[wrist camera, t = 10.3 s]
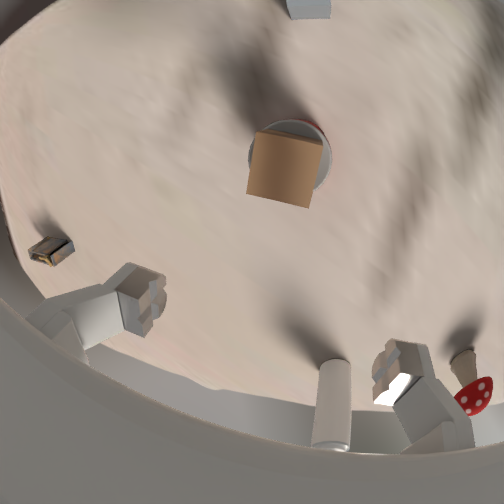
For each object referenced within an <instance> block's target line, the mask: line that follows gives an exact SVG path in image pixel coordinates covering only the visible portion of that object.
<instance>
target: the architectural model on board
mask: <svg viewBox="0 0 504 504" xmlns="http://www.w3.org/2000/svg"><path fill="white" fill-rule="evenodd" d="M66 242H67V240H62V239H56V238H52V237H46V238H44V239H43V240H41V241H40V242H38V243H37V244H36V245H34V246H33V247H31V248H30V249H28V253H29V256H30V259H31V260H34V261H37V262H41V263H44V264H47V265H49V266H50V267H52V266H54V267H55V266H56V265H57V264H59V263H60V262H61V261H62V260H64V259H65V258H66V257H68V256H69V255H70V254H72V253H73V252H74V251H75V249H74V245H73V242H72V241H71V242H69V243H68V244H66V245H65V246H63V247H60V246H61V245H63V244H64V243H66Z"/></svg>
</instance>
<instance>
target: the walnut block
mask: <svg viewBox="0 0 504 504" xmlns="http://www.w3.org/2000/svg"><path fill="white" fill-rule="evenodd" d="M322 150H323V141H322V140H318V139H314V138H310V137H306V136H301V135H297V134H292V133H287V132H282V131H277V130H272V129H265V130H261V131H257V132H256V136H255V142H254V148H253V154H252V160H251V166H250V173H249V179H248V185H247V192H246V194H250V195H254V196H259V197H263V198H267V199H272V200H276V201H280V202H284V203H288V204H292V205H297V206H301V207H304V208H308V209H309V205H310V201H311V197H312V193H313V189H314V185H315V181H316V176H317V172H318V168H319V164H320V159H321V155H322Z"/></svg>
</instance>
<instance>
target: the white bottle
mask: <svg viewBox="0 0 504 504" xmlns="http://www.w3.org/2000/svg"><path fill="white" fill-rule="evenodd" d="M351 394H352V385H351V365H350V364H349V363H348V362H347V361H345V360H342V359H332V360H328V361H326V362H324V363H323V364H322V365H321V366H320V370H319V381H318V392H317V401H316V411H315V418H314V426H313V434H312V442H311V448H318V449H325V450H333V451H342V452H347V451H348V450H349V448H350V430H351Z"/></svg>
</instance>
